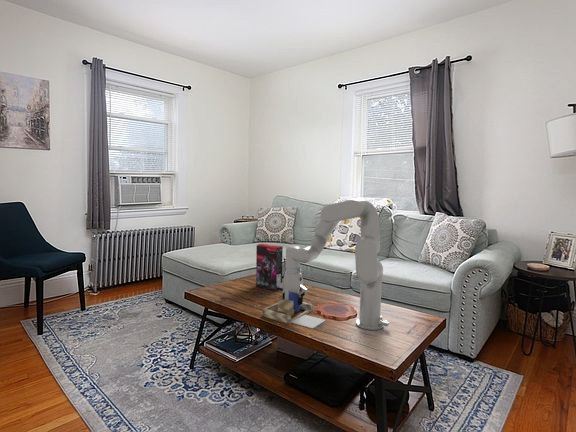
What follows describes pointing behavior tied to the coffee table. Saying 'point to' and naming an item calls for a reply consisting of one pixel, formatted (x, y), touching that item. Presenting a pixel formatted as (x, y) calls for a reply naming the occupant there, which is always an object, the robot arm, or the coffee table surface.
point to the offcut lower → (288, 313)
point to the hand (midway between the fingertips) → (292, 302)
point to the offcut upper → (285, 306)
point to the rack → (271, 313)
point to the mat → (308, 321)
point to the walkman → (292, 299)
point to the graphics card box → (269, 266)
